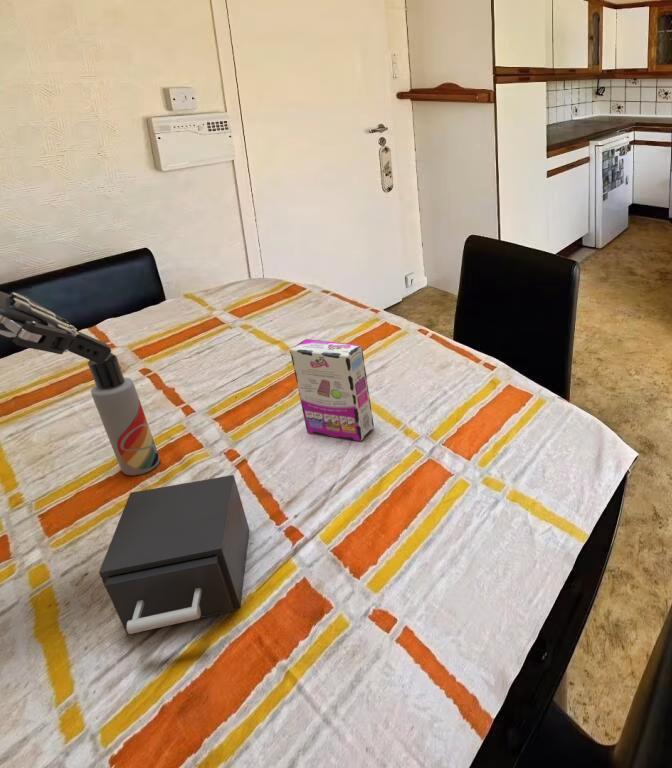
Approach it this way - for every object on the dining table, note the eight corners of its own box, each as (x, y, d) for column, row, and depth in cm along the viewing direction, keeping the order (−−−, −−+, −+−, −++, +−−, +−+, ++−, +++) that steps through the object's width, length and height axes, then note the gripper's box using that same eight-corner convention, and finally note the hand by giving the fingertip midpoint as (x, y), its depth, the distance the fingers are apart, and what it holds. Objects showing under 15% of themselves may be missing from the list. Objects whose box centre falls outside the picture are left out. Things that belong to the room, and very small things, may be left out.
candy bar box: (375, 427, 111) (363, 344, 103) (361, 442, 107) (348, 356, 99) (321, 418, 114) (305, 336, 106) (305, 432, 110) (287, 349, 102)
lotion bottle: (161, 469, 101) (123, 359, 92) (122, 480, 99) (78, 368, 89) (159, 452, 106) (122, 345, 96) (121, 462, 103) (79, 353, 94)
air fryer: (240, 607, 76) (221, 548, 71) (126, 632, 73) (98, 572, 68) (249, 529, 88) (233, 474, 84) (152, 548, 85) (130, 492, 81)
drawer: (228, 639, 71) (211, 589, 67) (117, 664, 68) (93, 614, 64) (242, 536, 86) (228, 491, 82) (151, 553, 83) (133, 508, 79)
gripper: (-55, 259, 57) (134, 345, 69) (-52, 234, 67) (115, 314, 79) (-103, 328, 57) (96, 402, 69) (-93, 293, 66) (81, 364, 78)
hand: (106, 355), depth 74 cm, fingers closed
